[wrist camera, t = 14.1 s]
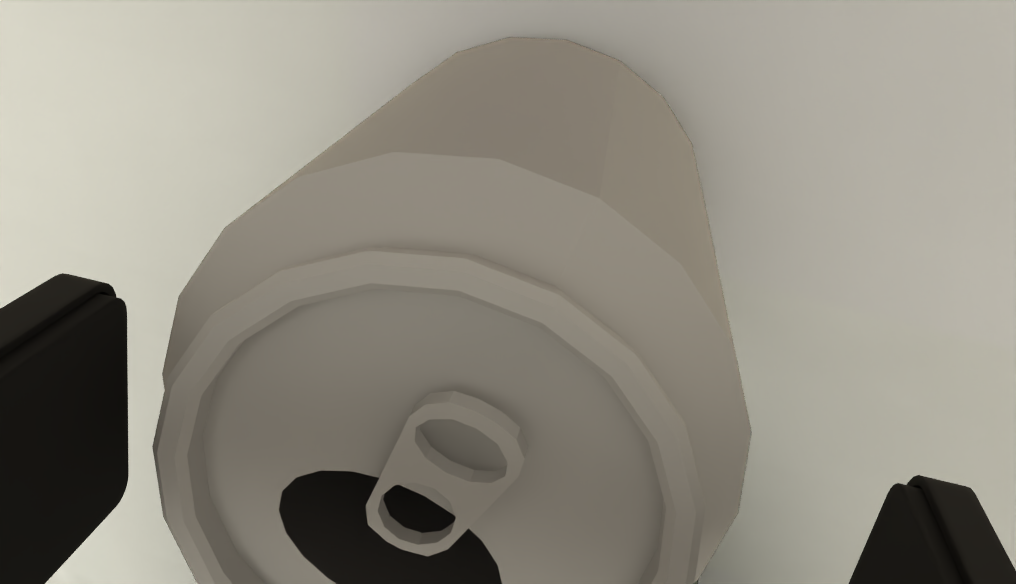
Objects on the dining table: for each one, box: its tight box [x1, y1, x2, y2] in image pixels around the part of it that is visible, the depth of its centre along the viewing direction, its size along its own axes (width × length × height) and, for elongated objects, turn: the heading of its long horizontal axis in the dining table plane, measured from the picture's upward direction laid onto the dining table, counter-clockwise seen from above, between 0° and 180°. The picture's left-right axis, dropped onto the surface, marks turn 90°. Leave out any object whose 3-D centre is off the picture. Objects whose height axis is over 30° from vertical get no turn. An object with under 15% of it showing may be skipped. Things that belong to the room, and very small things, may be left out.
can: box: [153, 37, 751, 584], centre depth 15 cm, size 8×8×12 cm
